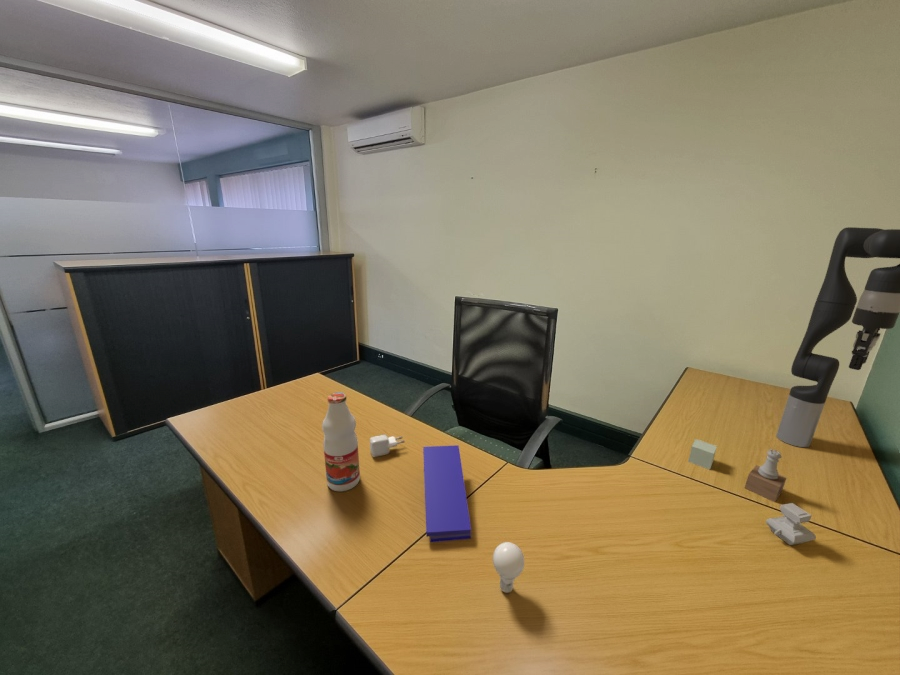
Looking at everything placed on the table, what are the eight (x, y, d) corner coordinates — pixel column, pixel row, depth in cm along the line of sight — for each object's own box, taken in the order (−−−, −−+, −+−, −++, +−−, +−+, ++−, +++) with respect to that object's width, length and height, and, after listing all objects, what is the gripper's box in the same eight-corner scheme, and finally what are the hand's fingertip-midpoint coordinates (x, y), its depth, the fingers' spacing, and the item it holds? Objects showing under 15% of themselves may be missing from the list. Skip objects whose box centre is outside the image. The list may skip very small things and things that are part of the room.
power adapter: (401, 444, 125) (401, 429, 124) (405, 451, 121) (405, 436, 119) (369, 451, 121) (368, 435, 119) (372, 459, 117) (371, 443, 115)
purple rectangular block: (456, 468, 114) (457, 441, 111) (473, 541, 87) (475, 508, 84) (420, 470, 112) (420, 443, 109) (426, 545, 86) (426, 512, 83)
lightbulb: (488, 576, 78) (490, 535, 75) (517, 574, 78) (520, 534, 75) (494, 605, 72) (497, 562, 69) (525, 602, 72) (529, 560, 69)
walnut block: (752, 479, 110) (756, 465, 109) (781, 492, 105) (786, 477, 104) (744, 487, 106) (748, 473, 105) (774, 502, 101) (779, 487, 100)
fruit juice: (362, 471, 111) (357, 388, 103) (356, 492, 102) (350, 403, 94) (332, 471, 111) (324, 388, 103) (323, 492, 102) (313, 404, 94)
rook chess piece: (781, 481, 102) (789, 457, 100) (763, 479, 103) (771, 455, 100) (771, 471, 106) (778, 448, 104) (754, 469, 107) (761, 446, 105)
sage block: (691, 454, 123) (695, 438, 121) (712, 461, 119) (717, 446, 117) (688, 461, 118) (691, 446, 117) (709, 470, 114) (714, 453, 113)
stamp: (787, 551, 85) (797, 523, 83) (759, 529, 91) (768, 502, 89) (816, 546, 87) (827, 518, 84) (787, 525, 93) (796, 498, 91)
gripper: (861, 303, 101) (842, 357, 106) (852, 308, 93) (832, 366, 98) (902, 308, 95) (880, 364, 100) (897, 314, 87) (873, 375, 92)
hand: (856, 365), depth 99 cm, fingers open, 8 cm apart
